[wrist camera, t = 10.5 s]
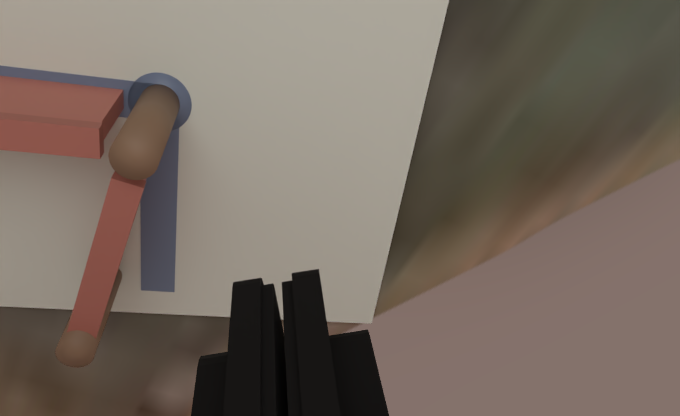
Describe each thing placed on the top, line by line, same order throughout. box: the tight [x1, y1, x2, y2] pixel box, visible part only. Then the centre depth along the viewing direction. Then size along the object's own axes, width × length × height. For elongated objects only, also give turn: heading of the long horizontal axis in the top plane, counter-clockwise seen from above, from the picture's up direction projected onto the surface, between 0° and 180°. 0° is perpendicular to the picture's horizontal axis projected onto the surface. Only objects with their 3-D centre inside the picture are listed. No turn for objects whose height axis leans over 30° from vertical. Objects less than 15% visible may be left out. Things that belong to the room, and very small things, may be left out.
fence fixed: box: [0, 76, 180, 180], centre depth 26 cm, size 13×2×7 cm, turn 81°
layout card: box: [0, 0, 449, 324], centre depth 31 cm, size 28×24×1 cm
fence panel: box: [55, 171, 146, 367], centre depth 29 cm, size 11×2×7 cm, turn 156°
